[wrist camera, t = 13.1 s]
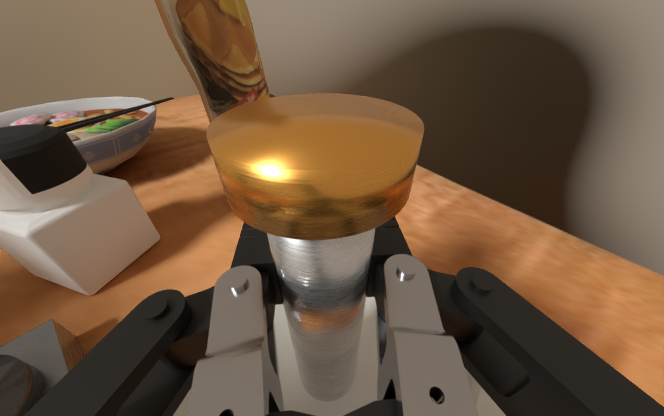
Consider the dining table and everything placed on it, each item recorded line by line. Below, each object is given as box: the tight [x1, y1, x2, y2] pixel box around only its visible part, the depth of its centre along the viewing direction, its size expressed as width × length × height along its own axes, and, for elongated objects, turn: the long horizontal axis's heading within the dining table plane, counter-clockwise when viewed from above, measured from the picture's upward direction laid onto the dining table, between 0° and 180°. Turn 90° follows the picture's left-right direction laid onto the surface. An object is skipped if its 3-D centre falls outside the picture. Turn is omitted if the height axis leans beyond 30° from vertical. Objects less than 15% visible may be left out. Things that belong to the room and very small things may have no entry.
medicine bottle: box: [0, 124, 160, 296], centre depth 20 cm, size 7×7×12 cm
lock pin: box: [206, 93, 424, 402], centre depth 10 cm, size 5×5×14 cm
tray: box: [173, 297, 506, 416], centre depth 14 cm, size 16×16×4 cm
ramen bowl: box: [0, 97, 174, 175], centre depth 35 cm, size 25×23×8 cm
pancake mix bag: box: [155, 0, 270, 123], centre depth 27 cm, size 7×19×28 cm, turn 173°
